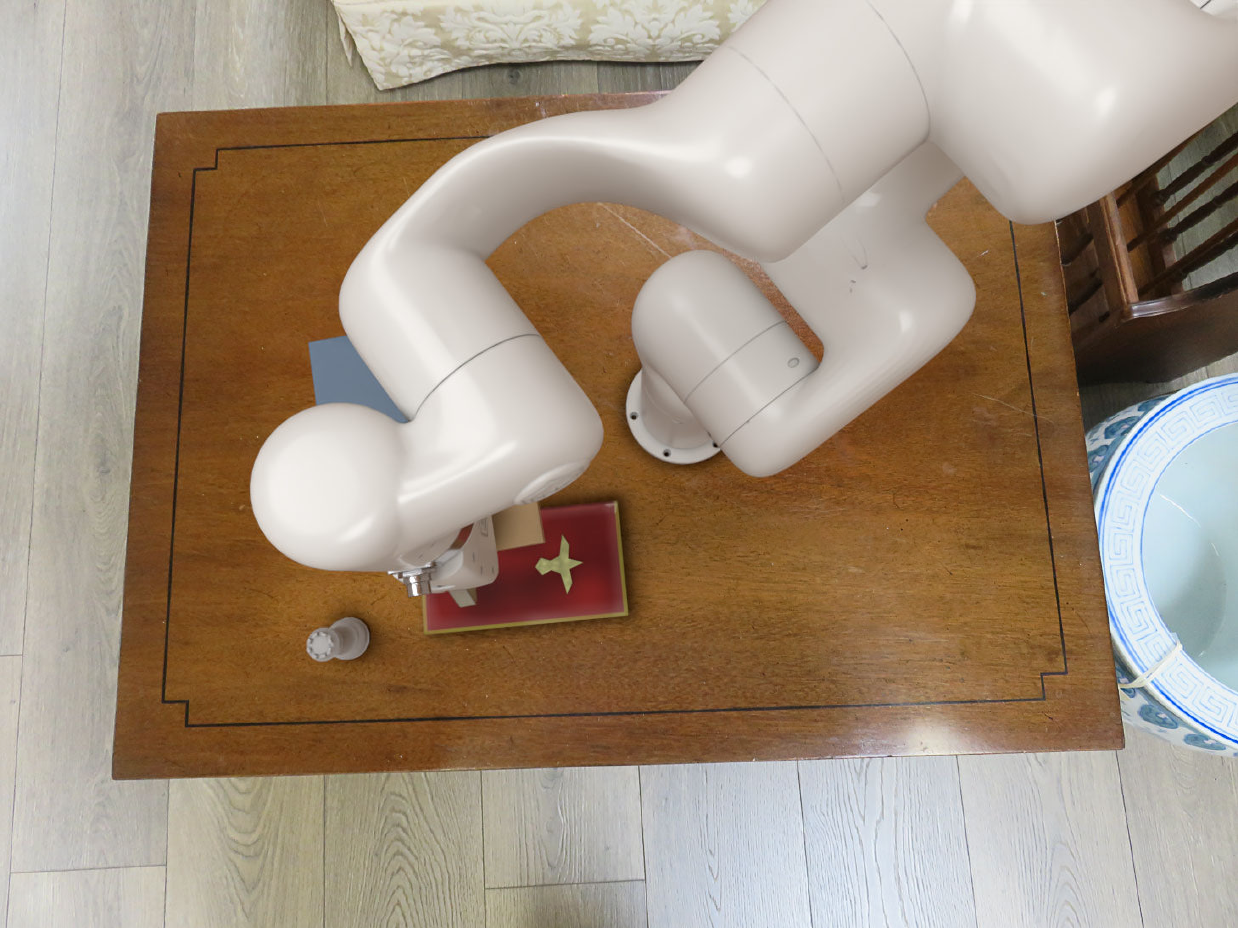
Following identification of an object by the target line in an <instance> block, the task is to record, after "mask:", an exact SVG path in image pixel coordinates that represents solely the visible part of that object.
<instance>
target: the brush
mask: <svg viewBox="0 0 1238 928" xmlns="http://www.w3.org/2000/svg"><path fill="white" fill-rule="evenodd" d="M540 508H541V506H540V500H539V501H537V502H534V503H530V504H526V505H514V506H512V507H509V508H507V509H505V510H502V511H500V512H498V513H495V514H493V515H491V517H492V523H493V529H494V536H495V542H496V549H497V552H498V551H503V550H509V549H514V548H519V547H524V546H530V545H535V544H540V543H545V542H546V541H545V535H544V530H543V524H542V518H541V512H540Z"/></svg>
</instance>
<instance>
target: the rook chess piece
mask: <svg viewBox="0 0 1238 928" xmlns="http://www.w3.org/2000/svg"><path fill="white" fill-rule="evenodd" d="M369 644H370V631H369V629H368V626H367V625H366V624H365V623H364V622H363V621H362V620H361V619H359V618H356V617H353V616H351V617H344V618H340V619H339V620H336V621H334V622H333V623H332V624H331V625H330V626H329V627H319V628H317V629H314V630H313V631H312V632H311V633H310V634H309V636H308V639H307V640H306V652H307V654H308V655H309V657H311V658H312V660H314V661H317V662H321V663H322V662H328V661H330V660H332V659H333V658H336V659H338V660H341V661H349V660H354V659H356V658H359V657H361V656H362V655H363V654H364V653H365V651H366V650H367V648H368V646H369Z"/></svg>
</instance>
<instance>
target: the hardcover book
mask: <svg viewBox="0 0 1238 928" xmlns="http://www.w3.org/2000/svg"><path fill="white" fill-rule="evenodd" d="M540 512H541V518H542V524H543V530H544V535H545V541H546V542H545V543H540V544H535V545H530V546H524V547H519V548H514V549H509V550H503V551H498V552H497V557H498V575H497V577H496V579H495V580H494V581H493V582H492V583H490V584H486V585H483V586H479V587H476V593H477V604H476V605H472V606H467V607H462V608H460V607H459V606H458V604H457V603H456V601H455V600H454V599H453V597H452V596H451V594H450V593H449V591H445V593H431V594H426V595H421V604H422V605H421V606H422V623H423V624H422V625H423V636H428V635H437V634H449V633H459V632H469V631H480V630H491V629H501V628H512V627H522V626H533V625H543V624H554V623H562V622H563V623H564V622H574V621H584V620H585V621H586V620H596V619H605V618H616V617H627V616H629V604H628V593H627V583H626V582H627V581H626V573H625V561H624V560H625V559H624V551H623V540H622V539H623V538H622V531H621V519H620V509H619V500H611V501H601V502H600V501H599V502H591V503H590V502H587V503H579V504H568V505H558V506H548V507H547V506H546V507H540Z"/></svg>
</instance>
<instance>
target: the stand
mask: <svg viewBox="0 0 1238 928" xmlns="http://www.w3.org/2000/svg"><path fill="white" fill-rule="evenodd" d="M307 344H308V352H309V359H310V367H311V374H312V375H311V376H312V382H313V383H312V384H313V390H314V391H313V392H314V398H315V406H317V405H322V404H328V403H353V404H359V405H364V406H367V407H370V408H372V409H375V410H377V411H379V412H381V413H383V414H385V415H387V416H389V417H391V418H392V419H394V420H395V421H397V422H398V423H408V421H407V420H406V418H405V417H404V416H403V414H402V413H401V411H400V410H399V409H398V407H397V406H396V405H395V403H394V402H393V401H392V399H391V398H390V396H389V395H388V394H387V392H386V391H385V390H384V388H383V387H382V386H381V384H380V383H379V381H378V380H377V379H376V377H375V376H374V375H373V373H372V372H371V370H370V369H369V368H368V366H367V365H366V364H365V362H364V361H363V359H362V358H361V356H360V355H359V354H358V352H357V351H356V349H355V348H354V346H353V344H352V343H351V341H350V340H349V338H348V336H347V334H346V335H341V336H334V337H330V338H324V339H319V340H314V341H308V342H307Z"/></svg>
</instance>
